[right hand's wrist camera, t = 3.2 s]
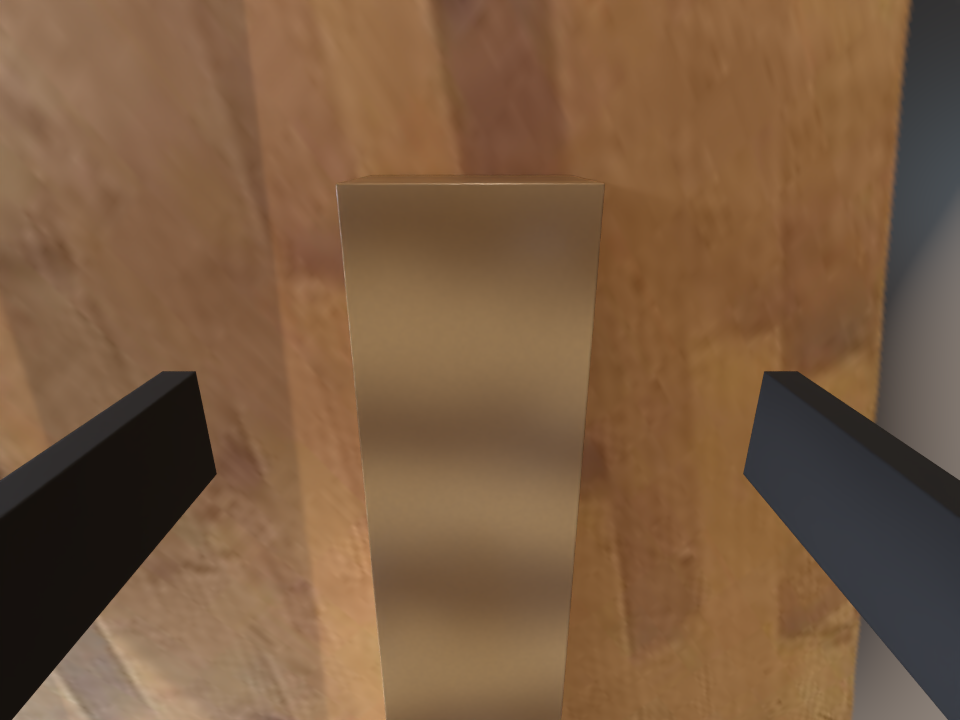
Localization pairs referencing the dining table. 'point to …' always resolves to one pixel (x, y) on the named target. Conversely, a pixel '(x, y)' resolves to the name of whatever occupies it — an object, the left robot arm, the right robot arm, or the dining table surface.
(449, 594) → the thick board
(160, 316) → the dining table surface
